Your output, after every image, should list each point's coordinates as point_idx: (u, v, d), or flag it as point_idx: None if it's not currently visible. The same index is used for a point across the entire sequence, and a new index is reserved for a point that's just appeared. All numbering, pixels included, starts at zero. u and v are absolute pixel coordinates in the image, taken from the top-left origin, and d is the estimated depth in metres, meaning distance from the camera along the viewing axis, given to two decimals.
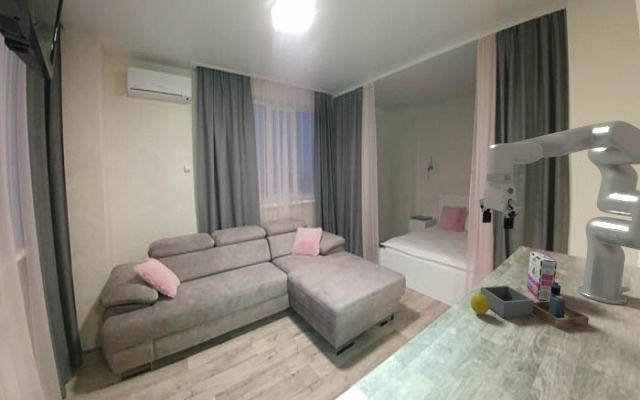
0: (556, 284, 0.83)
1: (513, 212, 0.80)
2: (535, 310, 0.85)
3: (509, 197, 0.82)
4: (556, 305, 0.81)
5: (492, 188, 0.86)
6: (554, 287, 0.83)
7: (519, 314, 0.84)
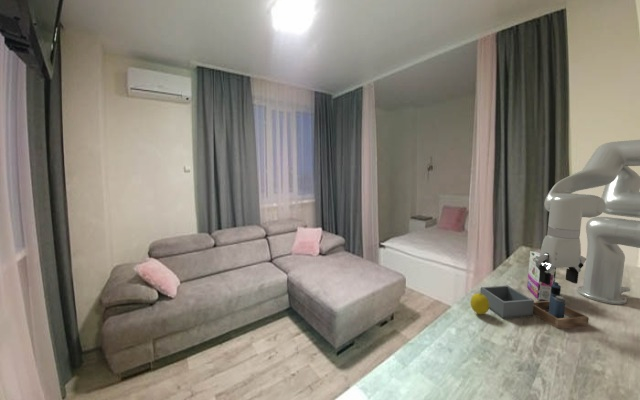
0: (556, 284, 0.83)
1: (582, 264, 0.80)
2: (535, 310, 0.85)
3: None
4: (556, 305, 0.81)
5: (570, 245, 0.77)
6: (554, 287, 0.83)
7: (519, 314, 0.84)
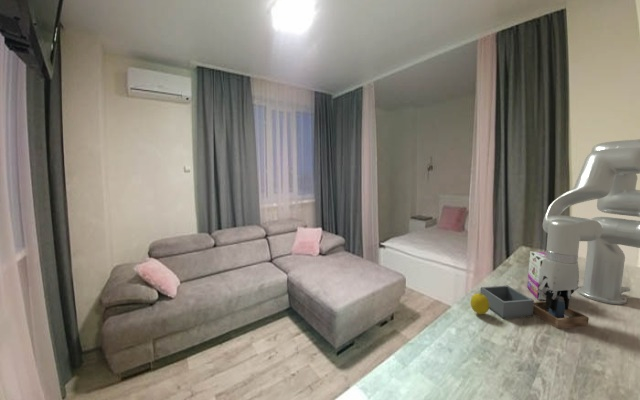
0: None
1: (573, 290, 0.82)
2: (535, 310, 0.85)
3: None
4: None
5: (568, 269, 0.79)
6: None
7: (519, 314, 0.84)
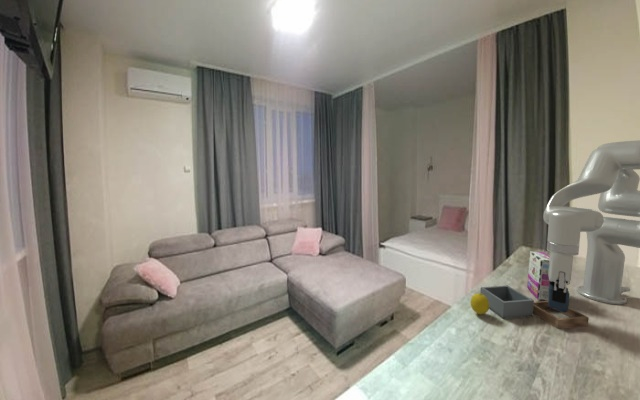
0: None
1: None
2: (535, 310, 0.85)
3: None
4: None
5: None
6: (556, 279, 0.82)
7: (519, 314, 0.84)
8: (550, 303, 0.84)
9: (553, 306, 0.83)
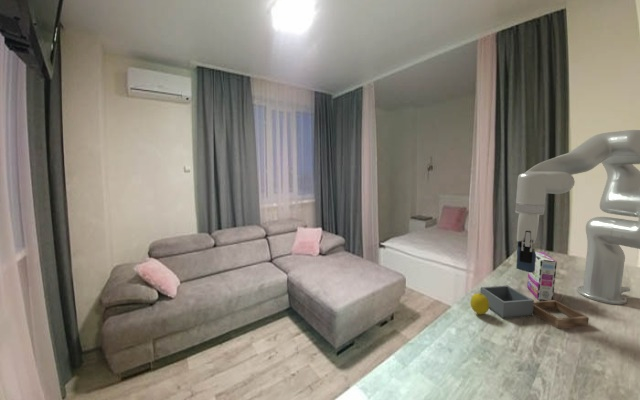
0: None
1: None
2: (535, 310, 0.85)
3: None
4: None
5: None
6: (524, 240, 0.84)
7: (519, 314, 0.84)
8: (518, 265, 0.86)
9: (521, 267, 0.85)
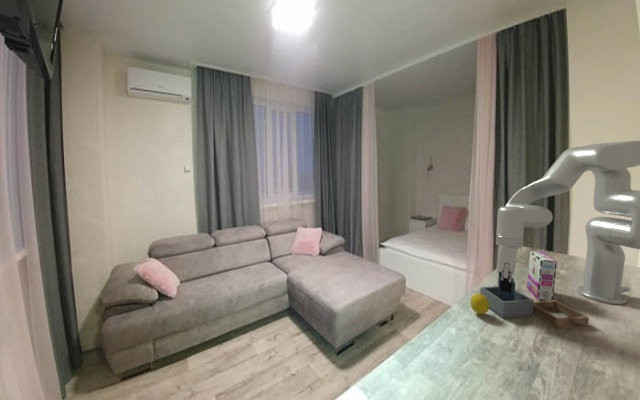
0: None
1: None
2: (535, 310, 0.85)
3: None
4: None
5: (517, 251, 0.85)
6: None
7: (519, 314, 0.84)
8: (499, 293, 0.90)
9: (501, 296, 0.89)
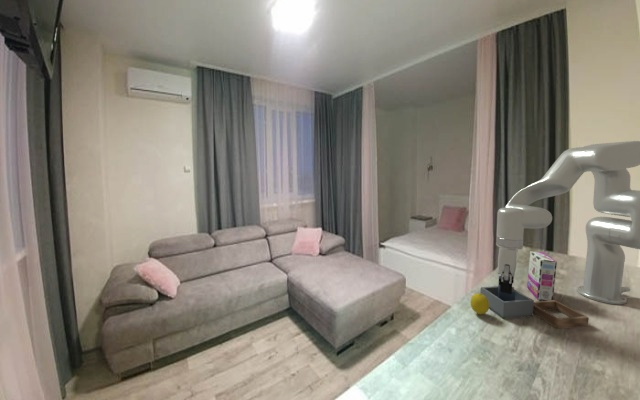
0: None
1: None
2: (535, 310, 0.85)
3: None
4: (511, 296, 0.86)
5: (517, 252, 0.85)
6: None
7: (519, 314, 0.84)
8: None
9: None
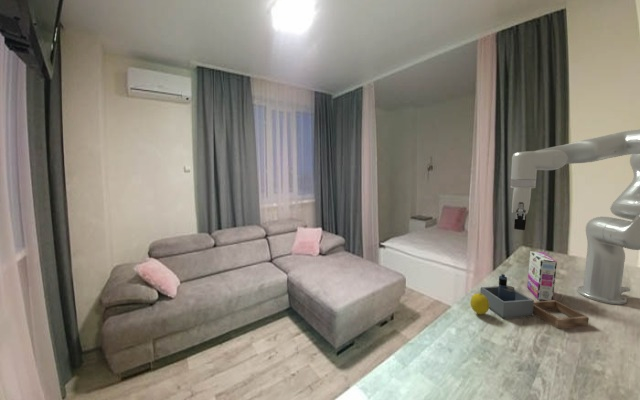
0: (504, 276, 0.88)
1: None
2: (535, 310, 0.85)
3: None
4: (511, 296, 0.86)
5: None
6: (505, 279, 0.88)
7: (519, 314, 0.84)
8: None
9: None
